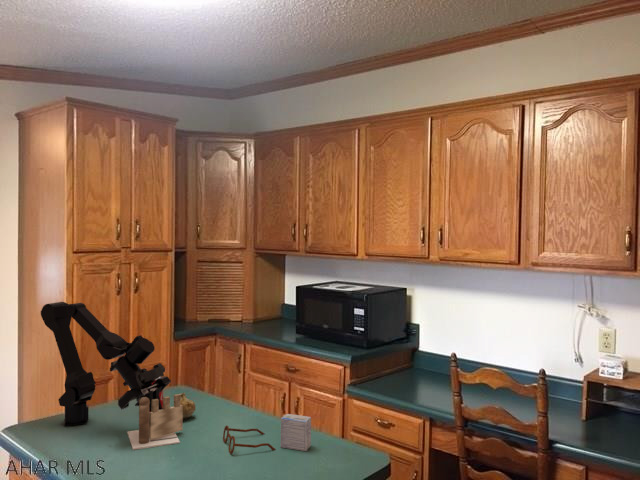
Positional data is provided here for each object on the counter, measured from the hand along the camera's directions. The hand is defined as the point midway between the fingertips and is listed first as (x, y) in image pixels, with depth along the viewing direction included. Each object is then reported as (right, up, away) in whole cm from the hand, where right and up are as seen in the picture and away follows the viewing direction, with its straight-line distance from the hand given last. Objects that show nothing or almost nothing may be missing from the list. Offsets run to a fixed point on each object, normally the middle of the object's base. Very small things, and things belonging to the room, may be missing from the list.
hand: (161, 414), depth 164 cm
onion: (+2, -7, +17) cm, 18 cm away
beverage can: (-9, -6, +21) cm, 24 cm away
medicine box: (+40, -8, -5) cm, 41 cm away
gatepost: (-4, -7, -5) cm, 9 cm away
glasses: (+26, -8, -4) cm, 28 cm away
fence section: (+1, -6, 0) cm, 6 cm away
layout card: (-2, -7, 0) cm, 7 cm away
